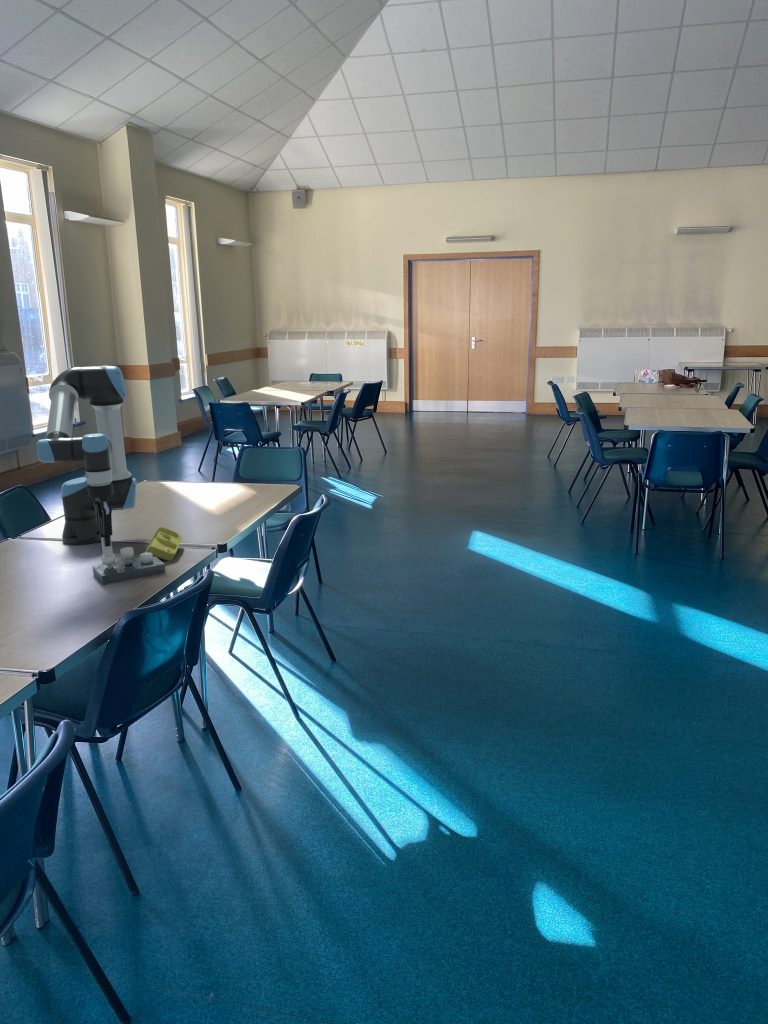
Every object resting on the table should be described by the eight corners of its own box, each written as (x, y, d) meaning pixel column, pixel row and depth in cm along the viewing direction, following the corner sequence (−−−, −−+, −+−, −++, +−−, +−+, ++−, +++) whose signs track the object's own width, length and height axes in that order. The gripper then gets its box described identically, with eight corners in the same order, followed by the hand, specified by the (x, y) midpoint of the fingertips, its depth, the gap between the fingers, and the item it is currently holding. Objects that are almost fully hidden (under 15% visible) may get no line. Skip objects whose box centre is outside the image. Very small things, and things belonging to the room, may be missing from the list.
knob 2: (139, 568, 251) (138, 553, 250) (151, 566, 253) (150, 551, 252) (143, 572, 248) (141, 556, 246) (155, 569, 250) (153, 554, 248)
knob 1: (102, 570, 244) (100, 555, 243) (114, 568, 246) (112, 552, 245) (105, 574, 241) (103, 558, 239) (118, 571, 243) (116, 556, 242)
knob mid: (120, 564, 247) (118, 548, 246) (132, 561, 249) (131, 546, 248) (123, 567, 244) (122, 551, 242) (136, 564, 246) (134, 549, 245)
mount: (93, 574, 247) (92, 566, 246) (154, 563, 257) (153, 554, 257) (102, 585, 237) (101, 576, 236) (165, 572, 248) (164, 563, 247)
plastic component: (175, 555, 258) (146, 544, 256) (167, 573, 260) (139, 563, 258) (183, 534, 277) (157, 524, 275) (176, 551, 279) (150, 541, 276)
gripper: (82, 481, 239) (91, 552, 245) (92, 488, 229) (101, 562, 235) (106, 478, 243) (114, 548, 249) (117, 485, 233) (125, 558, 239)
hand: (108, 555), depth 242 cm, fingers closed
